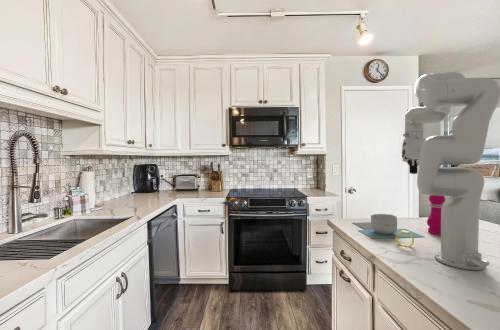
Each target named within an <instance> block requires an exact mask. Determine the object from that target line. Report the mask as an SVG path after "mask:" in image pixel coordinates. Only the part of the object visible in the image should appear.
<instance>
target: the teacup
mask: <svg viewBox="0 0 500 330" xmlns="http://www.w3.org/2000/svg"><path fill="white" fill-rule="evenodd" d="M370 222H371V225H372V229H373V230H374V231H376V232H377V233H379V234H385V235H389V234H393V233H394V232H395V231H396V230H397V229H398V216H397V215H394V214H391V213H390V214H387V213H375V214H370Z"/></svg>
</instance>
